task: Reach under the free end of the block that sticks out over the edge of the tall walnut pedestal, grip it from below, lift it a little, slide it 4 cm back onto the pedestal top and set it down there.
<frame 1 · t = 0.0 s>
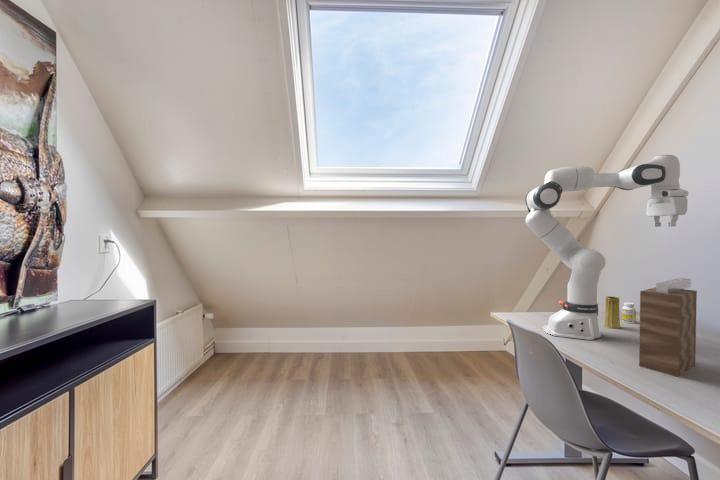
hand: (664, 226, 138), 48 cm above the table, tool pointing down, fingers open, 8 cm apart
pedestal: (667, 365, 112), on the table
block: (673, 289, 114), point 26 cm above the table, touching pedestal
vase: (612, 327, 157), on the table
supplement bottle: (628, 322, 164), on the table
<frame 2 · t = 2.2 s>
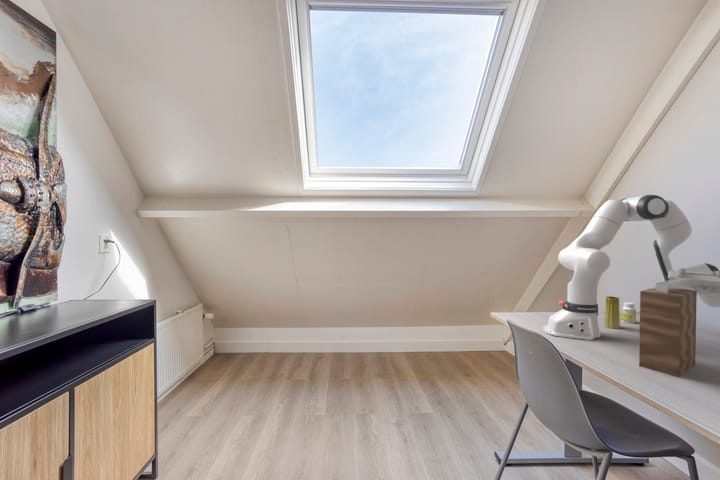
hand: (697, 271, 127), 30 cm above the table, tool pointing upward, fingers open, 8 cm apart
nothing on the table moved.
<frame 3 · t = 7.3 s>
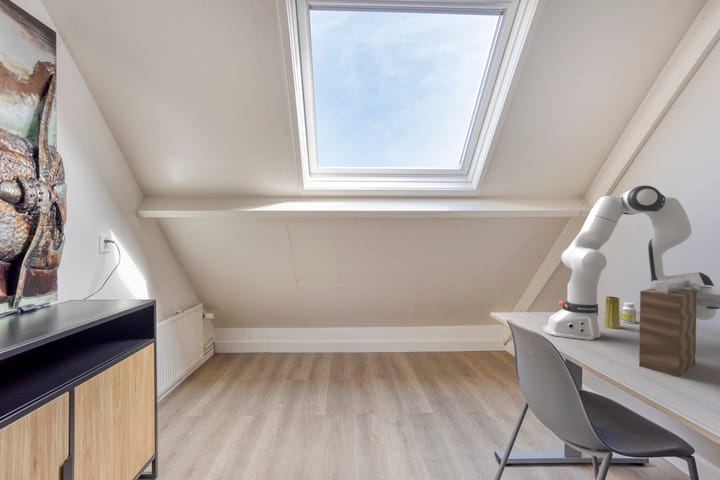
hand: (681, 282, 118), 28 cm above the table, tool pointing upward, fingers closed on block, 3 cm apart
block: (673, 289, 114), point 26 cm above the table, touching gripper, pedestal
everything else where it was.
when the fingers open (29 cm above the table, at t = 11.2 s): block stays where it is, resting on pedestal.
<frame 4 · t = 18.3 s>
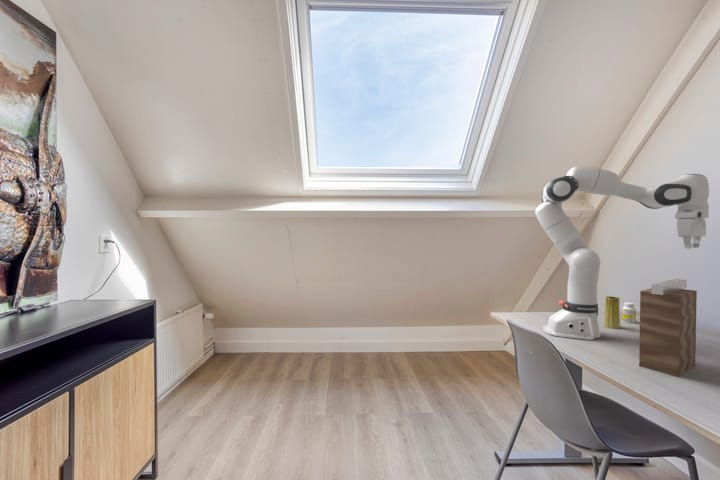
hand: (692, 248, 133), 39 cm above the table, tool pointing down, fingers open, 8 cm apart
block: (669, 290, 112), point 26 cm above the table, touching pedestal
everything else where it was.
at the end: block 1.3 cm off-centre on the pedestal, point 26.0 cm above the pedestal's base; block tilted 0°; the gripper is holding nothing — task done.
